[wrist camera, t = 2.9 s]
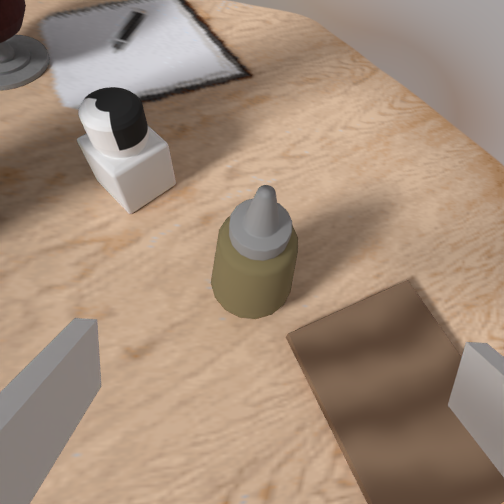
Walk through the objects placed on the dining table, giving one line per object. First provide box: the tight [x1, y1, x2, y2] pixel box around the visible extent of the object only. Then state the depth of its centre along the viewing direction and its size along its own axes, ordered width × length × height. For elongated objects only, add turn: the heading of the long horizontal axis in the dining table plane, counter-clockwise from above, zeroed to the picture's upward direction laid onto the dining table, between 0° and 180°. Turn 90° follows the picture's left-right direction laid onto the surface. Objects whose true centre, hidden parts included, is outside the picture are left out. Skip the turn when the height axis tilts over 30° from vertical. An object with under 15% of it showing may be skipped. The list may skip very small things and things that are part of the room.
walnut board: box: [286, 280, 504, 504], centre depth 33 cm, size 20×15×2 cm
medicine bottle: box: [77, 87, 176, 214], centre depth 38 cm, size 7×7×12 cm
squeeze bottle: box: [211, 185, 298, 319], centre depth 30 cm, size 8×8×18 cm
